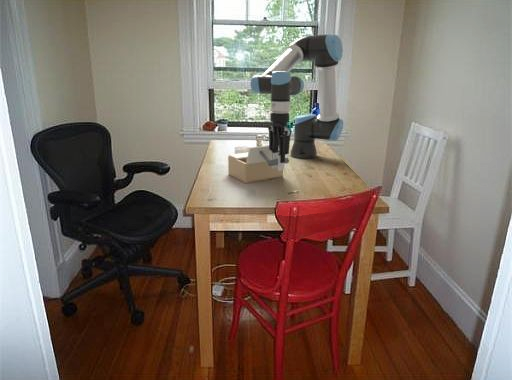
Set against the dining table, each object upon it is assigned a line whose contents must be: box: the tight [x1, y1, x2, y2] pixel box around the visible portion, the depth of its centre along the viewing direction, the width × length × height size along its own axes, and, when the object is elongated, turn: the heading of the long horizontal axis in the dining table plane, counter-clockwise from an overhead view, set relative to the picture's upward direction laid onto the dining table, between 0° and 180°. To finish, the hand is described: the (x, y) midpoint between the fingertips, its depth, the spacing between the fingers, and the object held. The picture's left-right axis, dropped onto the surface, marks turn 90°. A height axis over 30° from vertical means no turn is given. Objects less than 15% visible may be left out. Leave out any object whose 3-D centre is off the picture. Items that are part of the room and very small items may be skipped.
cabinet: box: [227, 152, 284, 185], centre depth 167 cm, size 20×16×10 cm
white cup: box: [234, 145, 251, 154], centre depth 181 cm, size 8×8×10 cm
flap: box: [246, 144, 290, 166], centre depth 154 cm, size 19×8×10 cm
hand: (278, 168), depth 151 cm, fingers open, 3 cm apart
